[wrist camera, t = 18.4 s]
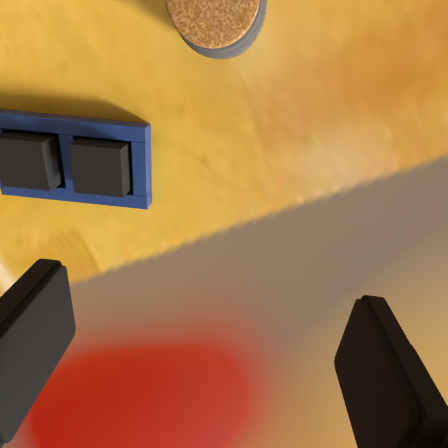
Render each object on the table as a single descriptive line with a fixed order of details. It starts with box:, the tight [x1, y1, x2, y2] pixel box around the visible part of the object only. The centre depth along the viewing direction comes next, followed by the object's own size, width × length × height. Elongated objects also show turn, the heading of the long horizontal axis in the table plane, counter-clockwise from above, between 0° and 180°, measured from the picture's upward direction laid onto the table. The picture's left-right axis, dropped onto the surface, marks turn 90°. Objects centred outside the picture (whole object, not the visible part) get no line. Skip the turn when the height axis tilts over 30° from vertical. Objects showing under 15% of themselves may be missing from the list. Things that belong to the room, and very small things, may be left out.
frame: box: [0, 109, 152, 209], centre depth 35 cm, size 9×16×2 cm, turn 85°
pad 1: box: [0, 129, 65, 191], centre depth 34 cm, size 5×5×4 cm
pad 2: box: [68, 136, 133, 198], centre depth 34 cm, size 5×5×4 cm
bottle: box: [165, 0, 266, 59], centre depth 23 cm, size 6×6×15 cm
